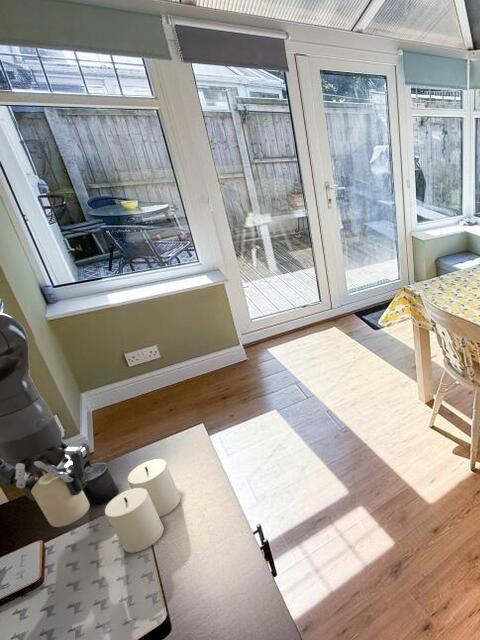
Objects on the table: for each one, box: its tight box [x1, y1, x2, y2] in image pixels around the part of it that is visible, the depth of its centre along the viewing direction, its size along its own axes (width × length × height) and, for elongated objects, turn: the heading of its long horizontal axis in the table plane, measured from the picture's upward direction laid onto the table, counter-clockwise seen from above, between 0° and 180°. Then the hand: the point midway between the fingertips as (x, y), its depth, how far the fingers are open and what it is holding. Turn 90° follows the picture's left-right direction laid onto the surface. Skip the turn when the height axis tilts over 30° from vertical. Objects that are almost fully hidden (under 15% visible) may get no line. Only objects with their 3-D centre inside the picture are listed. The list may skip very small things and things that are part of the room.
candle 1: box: [31, 469, 90, 528], centre depth 77 cm, size 6×6×10 cm
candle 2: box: [127, 458, 181, 518], centre depth 84 cm, size 6×6×11 cm
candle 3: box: [104, 488, 165, 554], centre depth 77 cm, size 6×6×11 cm
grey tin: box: [83, 462, 119, 506], centre depth 86 cm, size 5×5×7 cm
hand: (59, 493), depth 77 cm, fingers closed on candle 1, 5 cm apart
